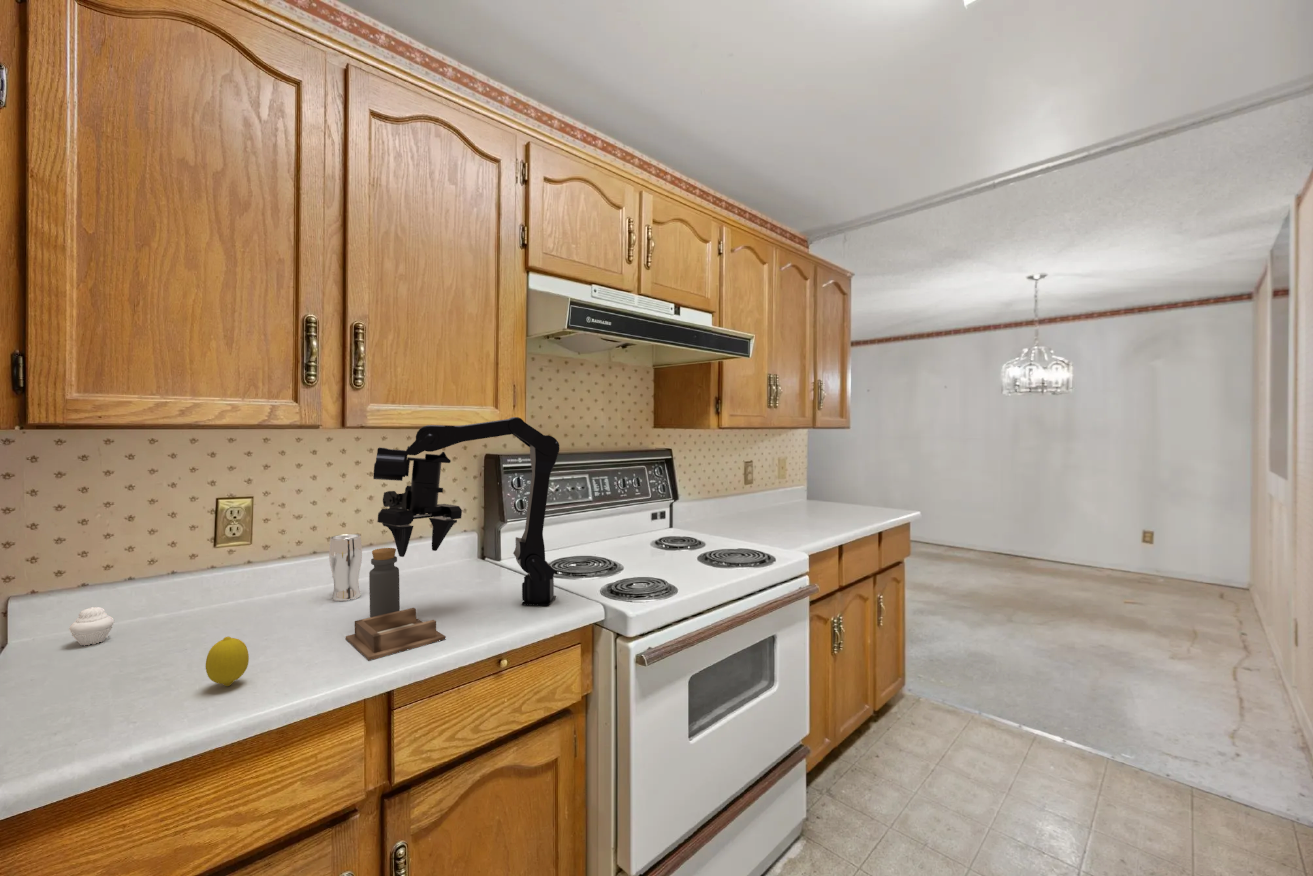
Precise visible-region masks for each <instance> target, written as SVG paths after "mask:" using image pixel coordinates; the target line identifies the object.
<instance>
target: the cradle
mask: <svg viewBox="0 0 1313 876" xmlns="http://www.w3.org/2000/svg"><path fill="white" fill-rule="evenodd" d="M445 638H447V637H446V635H444V634H443V633H441V632H440V631H438V630H437V621H436V620H435V619H431V620H426V621H422V620H420V619H419V618H417V609H416V607H410V608H407V609H402V610H401V609H400V611H397V612H392V613H388V614H383V615H379V616H375V617H370V616H369V617H367V618H363V619H357V620H354V633H353V634H348V635H345V640H346V641H347V640H348V641H347V642H348V643H349V642H350V643H351V644H352V645H353V646H354V647H353V646H352V645H351V644H350V643H349V644H350V645H351V646H352V647H353V648H354V649H355V650H356V651H358V652H359V651H360V652H359V653H360V654H361V653H362V654H361V655H362V656H363V655H364V656H365V657H366V658H367V659H368V660H367V659H366V658H365V657H364V656H363V657H364V658H365V659H366V660H367V661H369V660H370V661H372V660H371V659H373V660H377V659H380V658H383V656H384V657H387V656H386V655H388V656H391V655H393V654H392V653H395V654H398V653H400V652H399V651H402V652H405V650H406V651H408V650H407V649H409V650H412V648H413V649H415V648H420V647H423V646H427V645H430V643H431V644H433V643H432V642H434V643H438V642H440V641H439V640H442V641H444V640H443V639H445ZM445 640H446V639H445ZM437 641H438V642H437ZM426 644H427V645H426ZM397 652H398V653H397ZM390 654H391V655H390ZM379 657H380V658H379Z"/></svg>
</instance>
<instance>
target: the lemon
mask: <svg viewBox="0 0 1313 876" xmlns="http://www.w3.org/2000/svg"><path fill="white" fill-rule="evenodd" d="M247 647H248V646H247V645H246V644H245V642H243V641H242V640H241V639H239V638H235V637H231V636H225V637H224V638H223V639H221V640H219V641H217V642H216V643H214V645H212V646H211V648H210V649H209V651H208V653H207V656H206V658H205V670H206V671H205V672H206V674H207V677H208V678H209V680H211V681H212V682H213V683H215V684H219V685H223V686H224V687H229V686H231V685H232V684H233V683H234V682H235V681H237V680H238V679H240V678H241V677H242V676H243V675H244V674H245V672H246V670H247V669H248V666H249V659H250V657H249V656H250V654H249V651H248V648H247Z"/></svg>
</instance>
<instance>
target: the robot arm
mask: <svg viewBox="0 0 1313 876" xmlns="http://www.w3.org/2000/svg"><path fill="white" fill-rule="evenodd" d="M510 435H513V436H514V437H515V438H517V439H518V440H519V441H521V443H522V444H524V445H526V446H527V447H528V448H529V458H530V465H531V466H530V467H531V479H530V488H529V494H528V496H529V497H528V504H527V512H526V519H525V526H524V531H523V534H522V536H521V537H519V536H518V537H517V536H516V537H515V548H514V551H513V553H512V554H513V555H514V557H515V560H516V563H517V564H518V566H519V567H520V568H521V569H522V570H523V572H525V573H526V575H525V576H523V582H522V583H521V600H522V602H521V605H522V606H536V607H537V606H540V607H541V606H542V607H549V606H550V605H551V604H552V603H553V602H554V600H556V598H557V595H555V593H554V590H555V587H554V586H555V585H554V584H555V582H554V578H555V577H554V575H555V573H556V570H555V569H554V568H553V566H552V565H550V563H548V561H546V552H545V551H546V550H545V548H546V547H545V542H544V535H543V533H544V527H545V524H544V523H545V518H546V511H547V510H546V509H547V501H548V493H549V487H550V486H549V485H550V477H551V473H552V471H553V469H554V467H555V464H556V462H557V459H558V456H559V452H560V442H558V440H557V438H555V437H554V436H552V435H548V434H543V433H541V432H540V431H539V430H537V429H536V428H535V427H532V426H531V425H529V424H528V423H526V422H525V421H524V420H523V419H522V418H521V417H518V416H516V417H515V416H513V417H510V418H505V419H500V420H492V421H491V420H490V421H485V422H477V423H471V424H463V425H443V424H442V425H434V424H433V425H432V424H427V425H423V426H422V427H420V428H419V429H418V431H417V432H416V435H415V440H414V441H413V442H412V443H411V444H410V445H408V446H407V448H406V449H394V448H393V449H391V448H387V447H378V448H377V451H376V458H375V462H374V464H373V466H374V467H373V480H380V481H381V480H382V481H397V482H402V481H403V478H405V477H409V475H410V474H409V473H410V462H411V461H412V471H411V472H412V473H411V479H410V480H411V482H410V485H406V487H405V489H404V492H403V493H397V492H396V490H388V491H384V492H383V496H382V504H383V505H382V506H384V507H385V508H382V509H381V510H380V511H379V512H378V514H377V521H376V522H377V523H381V524H382V526H383V527H386V528H387V529H388V530H389V531H390V532H391V534H392V537H393V539H394V543H395V546H396V547H395V548H396V551H397V554H398V556H399V557H402V558H404V557H405V555H406V553H407V552H408V551H407V550H408V546H409V543H410V539H411V537H412V533H413V530H414V525H412V523H413V522H414V520H419V519H427V518H428V520H429V522H430V523H431V525H432V529H431V530H432V531H431V551H433V552H436V551H438V549H439V548H440V546H441V544H442V543H443V541H444V539H445V537H446V536H447V535H448V533H449V531H450V530H451V529H452V528H453V526H454V525H455V524H456V523H457V522H458V520H459V519H462V515H463V514H462V513H463V510H462V508H461V507H460V506H459V505H453V504H449V503H448V504H447V503H440V504H439V503H438V502H439V501H438V500H439V493H441V494H442V493H443V492H444V487H440V482H441V481H440V479H441V472H442V471H441V470H442V463H443V464H444V463H445V464H450V463H451V462H452V460H451V459H450V458H448V456H447V454H446V453H445V451H441V453H439V454H433V453H432V452H436V451H439V450H442V449H445V448H448V447H450V446H453V445H454V446H455V445H458V444H459V443H464V442H470V441H476V440H481V439H488V438H497V437H502V436H510ZM423 452H431V453H425V454H424V458H423V457H409V456H417V455H419V454H421V453H423Z"/></svg>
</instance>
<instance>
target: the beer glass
mask: <svg viewBox="0 0 1313 876" xmlns="http://www.w3.org/2000/svg"><path fill="white" fill-rule="evenodd" d="M362 546H363V545H362V537H361V534H360V533H359V534H358V533H345V534H338V535H333V536H331V537H329V551H328V554H329V558H328V559H329V565H330V569H331V575H332V579H333V580H332V581H333V592H332V596H331V599H333V600H332V601H334V600H335V601H334V602H348V601H347V600H349V601H351V600H350V599H353V600H356V599H358V597H359V598H360V597H361V594H362V593H361V589H360V583H359V582H360V581H359V579H360V571H361V566H362V560H363V547H362ZM355 598H356V599H355Z"/></svg>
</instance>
